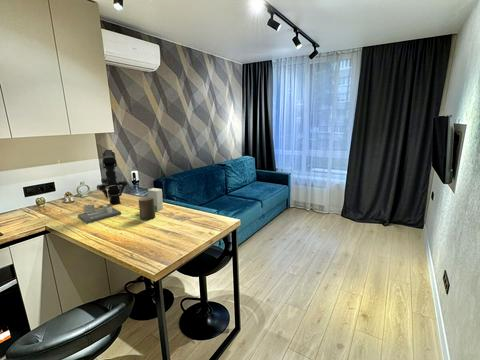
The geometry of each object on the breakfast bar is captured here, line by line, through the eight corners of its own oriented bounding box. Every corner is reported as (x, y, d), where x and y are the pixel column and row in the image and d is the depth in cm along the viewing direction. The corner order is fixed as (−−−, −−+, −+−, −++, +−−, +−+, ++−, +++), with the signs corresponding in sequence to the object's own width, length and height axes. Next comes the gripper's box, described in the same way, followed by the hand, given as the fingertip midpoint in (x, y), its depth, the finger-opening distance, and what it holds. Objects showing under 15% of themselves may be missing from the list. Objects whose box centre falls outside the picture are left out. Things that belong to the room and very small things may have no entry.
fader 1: (106, 209, 187) (106, 204, 186) (108, 210, 185) (107, 205, 184) (103, 210, 185) (102, 205, 184) (105, 211, 183) (104, 206, 182)
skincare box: (148, 210, 190) (146, 189, 186) (154, 207, 196) (152, 187, 192) (158, 211, 187) (156, 191, 183) (163, 208, 193) (162, 188, 189)
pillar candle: (155, 219, 173) (153, 197, 170) (139, 221, 170) (137, 199, 167) (155, 214, 182) (153, 193, 179) (140, 216, 179) (138, 195, 176)
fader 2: (110, 211, 182) (110, 206, 181) (112, 212, 180) (111, 207, 179) (107, 212, 180) (106, 207, 180) (109, 213, 178) (108, 208, 178)
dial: (93, 210, 185) (92, 203, 184) (95, 211, 183) (93, 204, 182) (84, 212, 181) (83, 205, 179) (85, 213, 179) (84, 206, 178)
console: (110, 208, 195) (110, 206, 194) (121, 214, 183) (120, 211, 182) (77, 217, 179) (77, 214, 179) (86, 223, 167) (86, 220, 167)
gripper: (119, 171, 190) (122, 192, 194) (92, 176, 177) (95, 198, 180) (126, 173, 183) (129, 194, 186) (98, 178, 169) (101, 201, 173)
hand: (114, 197), depth 182 cm, fingers open, 9 cm apart
